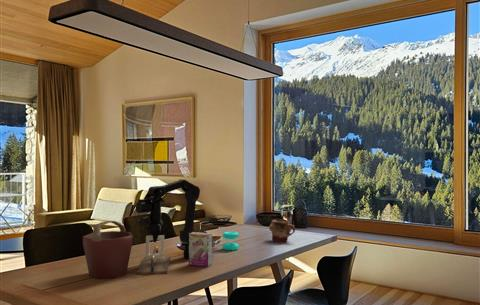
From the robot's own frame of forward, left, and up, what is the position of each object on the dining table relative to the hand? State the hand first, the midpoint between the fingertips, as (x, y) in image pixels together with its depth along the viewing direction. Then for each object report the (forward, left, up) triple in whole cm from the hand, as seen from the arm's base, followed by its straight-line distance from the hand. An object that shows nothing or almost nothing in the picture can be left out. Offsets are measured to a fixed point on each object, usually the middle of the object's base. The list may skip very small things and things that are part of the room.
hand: (155, 241), depth 225 cm
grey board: (0, +1, -12) cm, 12 cm away
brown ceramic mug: (-78, -57, -12) cm, 97 cm away
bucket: (+21, +15, -12) cm, 29 cm away
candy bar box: (-23, +2, -12) cm, 26 cm away
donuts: (-42, -36, -12) cm, 57 cm away
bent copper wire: (0, +2, -11) cm, 11 cm away
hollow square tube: (0, 0, -8) cm, 8 cm away
